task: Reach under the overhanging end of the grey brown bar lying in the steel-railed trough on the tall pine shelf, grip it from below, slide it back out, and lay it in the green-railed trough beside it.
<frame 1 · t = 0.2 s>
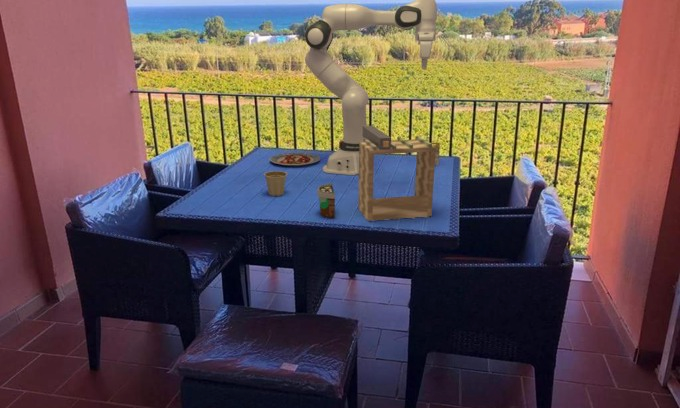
hand: (423, 69, 231), 48 cm above the table, tool pointing down, fingers open, 8 cm apart
food container: (325, 214, 192), on the table
flower pot: (276, 194, 215), on the table
ceramic plate: (295, 162, 266), on the table
pine shelf: (394, 212, 193), on the table
crayon box: (430, 165, 261), on the table
grey brown bar: (376, 142, 187), point 26 cm above the table, touching pine shelf
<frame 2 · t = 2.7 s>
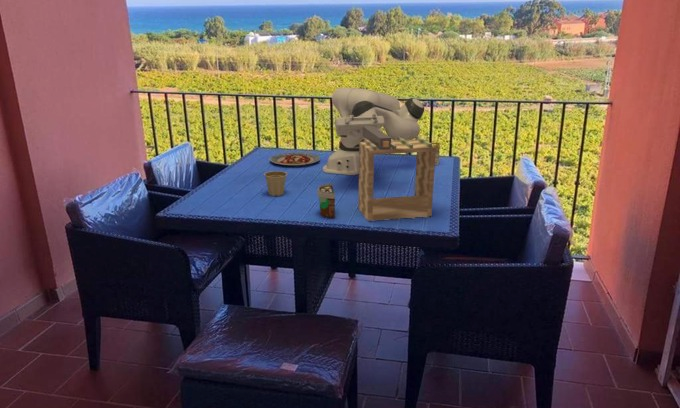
hand: (363, 116, 203), 32 cm above the table, tool pointing upward, fingers open, 8 cm apart
nothing on the table moved.
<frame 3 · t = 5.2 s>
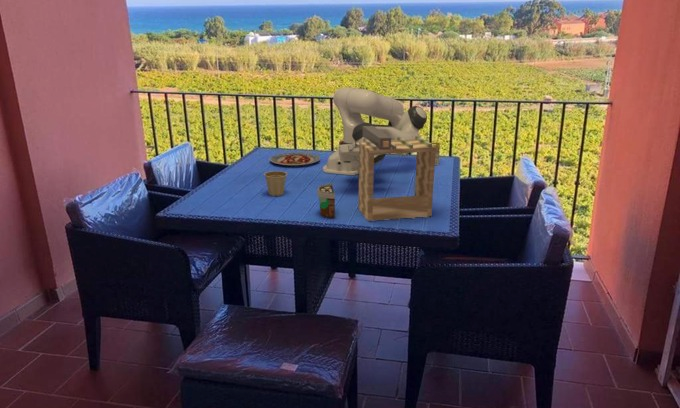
hand: (367, 143, 203), 22 cm above the table, tool pointing upward, fingers open, 8 cm apart
nothing on the table moved.
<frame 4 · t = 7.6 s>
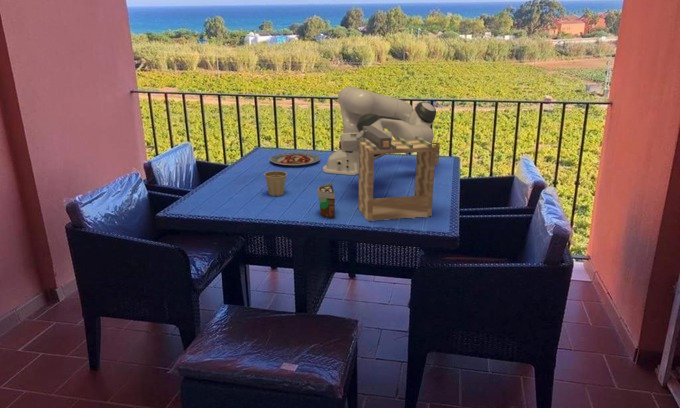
hand: (370, 132, 194), 28 cm above the table, tool pointing upward, fingers closed on grey brown bar, 4 cm apart
grey brown bar: (376, 142, 187), point 26 cm above the table, touching gripper, pine shelf
everything else where it was.
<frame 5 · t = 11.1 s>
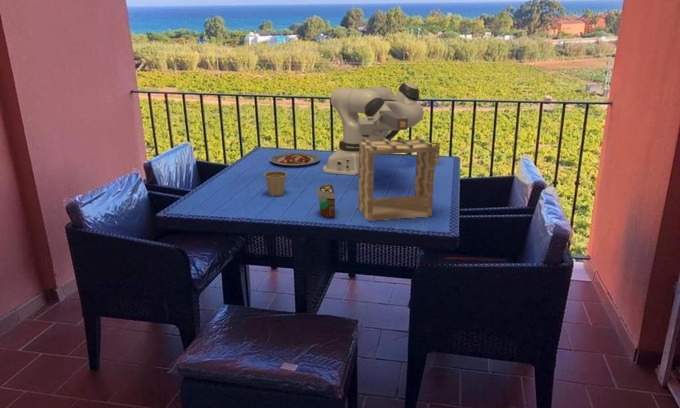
hand: (387, 115, 203), 33 cm above the table, tool pointing upward, fingers closed on grey brown bar, 4 cm apart
grey brown bar: (392, 125, 196), point 30 cm above the table, touching gripper
everything else where it was.
when the fingers open (30 cm above the table, at t = 14.8 s): grey brown bar drops 1 cm, resting on pine shelf.
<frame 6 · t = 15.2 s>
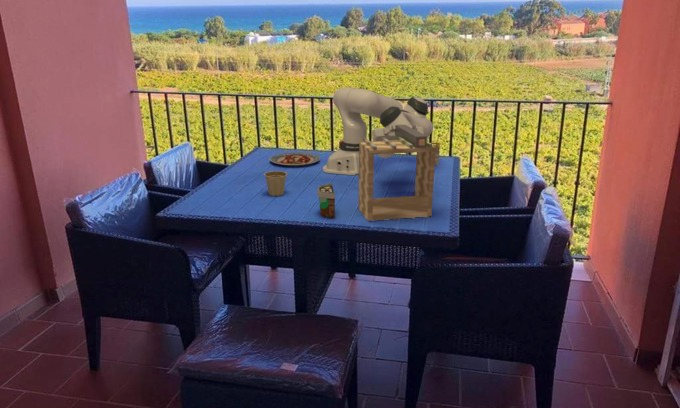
hand: (403, 127, 196), 30 cm above the table, tool pointing upward, fingers open, 8 cm apart
grey brown bar: (410, 141, 190), point 26 cm above the table, touching pine shelf
everything else where it was.
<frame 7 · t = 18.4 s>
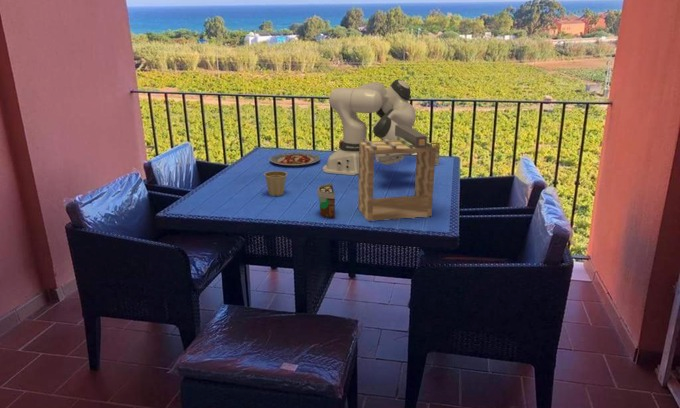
hand: (403, 148, 211), 19 cm above the table, tool pointing upward, fingers open, 8 cm apart
nothing on the table moved.
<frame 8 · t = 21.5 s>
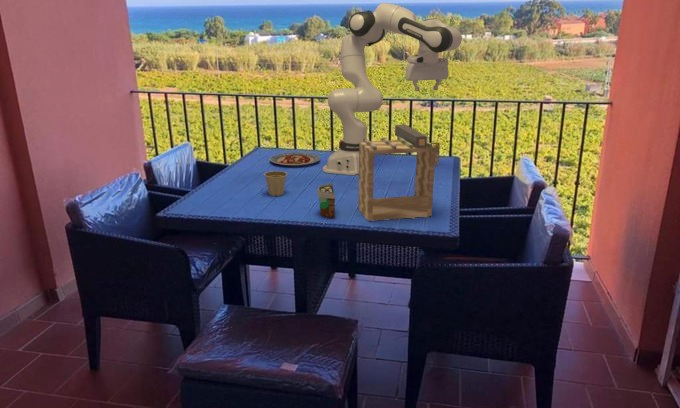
hand: (426, 90, 229), 39 cm above the table, tool pointing down, fingers open, 8 cm apart
nothing on the table moved.
at the end: grey brown bar inside the target area (0.3 cm from its centre), point 26.0 cm above the table; the gripper is holding nothing; grey brown bar tilted 0° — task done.
